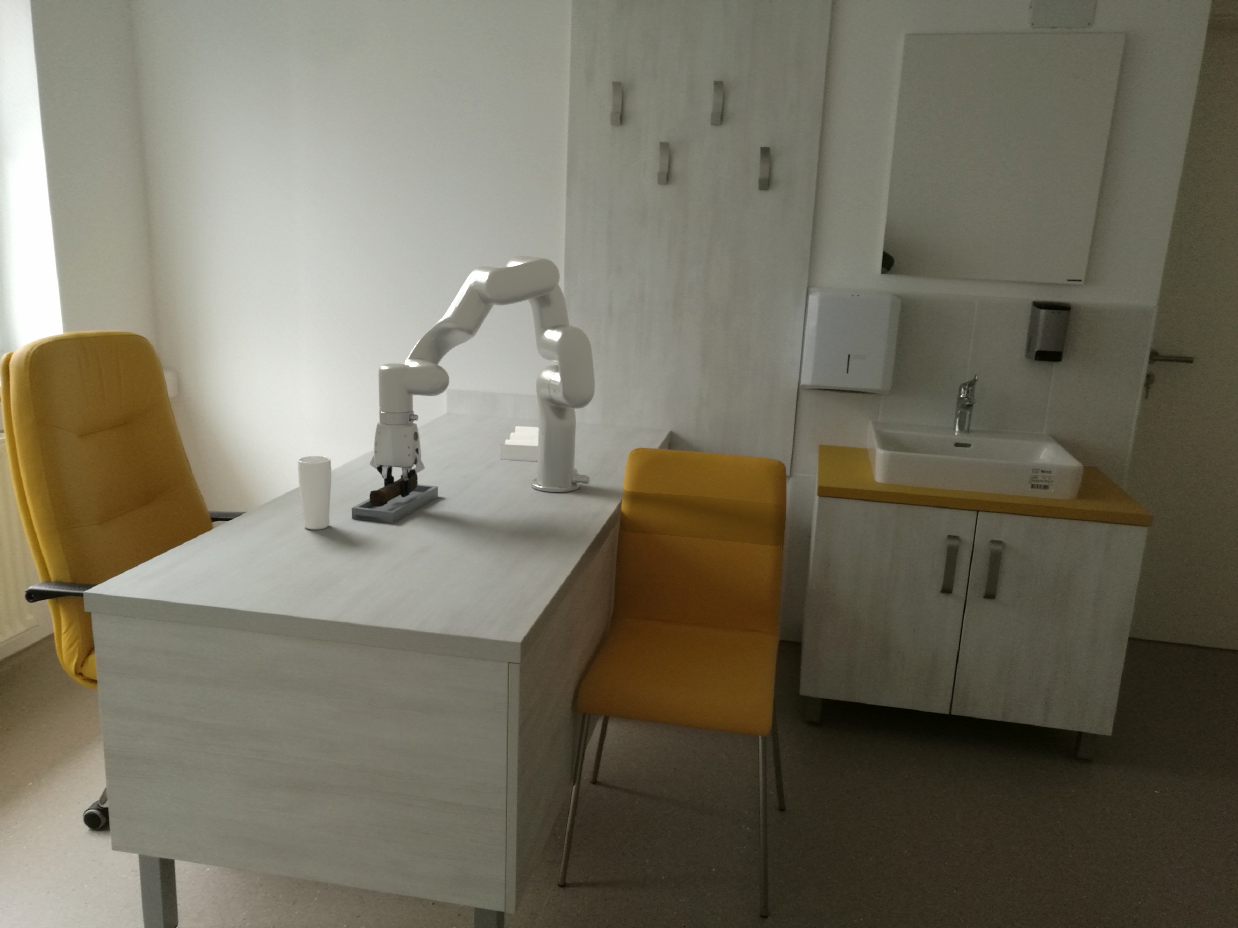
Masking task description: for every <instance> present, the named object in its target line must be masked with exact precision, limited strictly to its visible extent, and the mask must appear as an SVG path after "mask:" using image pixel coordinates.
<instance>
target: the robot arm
mask: <svg viewBox="0 0 1238 928" xmlns="http://www.w3.org/2000/svg"><path fill="white" fill-rule="evenodd" d="M560 279H561V278H560V270H559V268H558V266H557V265H556V264H555V262H554V261H552V260H550V259H547V258H545V257H537V256H529V255H525V256H524V255H518V256H515V257H512V258H511V259H510V260H508V261H507V263H506V265H505V266H504V267H494V266H493V267H492V266H479V267H476V268H475V269H473V270H471V271H470V273H469V275H468V276H467V278H466V279H465V281H464V282H463V284H462V285H461V287H460V289H459V290H458V292H457V293H456V295H455V297H454V298H453V300H452V302H451V304H450V305H449V307H448V308H447V309H446V311H445V313H444V315H443V316H442V317H441V318H440V319H439V320H438V321H436V322H435V324H434V325H432V326H431V328H429V329H428V330H427V331H426V332H424V334H423V335H422V336H421V337H420V338H419V339H418V341H417V342H416V343H415V345H414V346H413V348H412V349H411V351H410V353H409V355H408V356H407V357H406V360H404V361H405V362H404V363H397V362H396V363H394V362H393V363H385V364H382V365H380V366H379V368H378V407H379V412H378V413H379V414H378V415H379V422H377V423H376V427H375V433H374V441H373V442H374V445H373V456H372V459H371V460H370V462H369V466H371V467H372V468H374V469H375V470H377V472H378V473H379V474H380V475H381V478H382V479H383V487H384V486H387V485H389V484H391V483H393V482H395V477H394V475H393V468H401V472H402V473H401V475H403V480H402V481H401V497H406V496H408V495H409V494H410V492H411V478H412V477H413V476H414V475H415V474H416V473H417V474H418V473H420V472H422V471H424V470H425V469H426V468H425V467H426V466H425V465H424V462H423V460H422V448H421V447H422V446H421V439H420V438H421V437H420V434H419V433H420V432H419V428H418V425H417V423H414V422H415V421H416V422H417V421H418V420H419V414H415V411H414V396H422V397H437V396H440V395H441V394H443V393H444V392H446V390H447V389H448V387H449V385H450V376H449V373H448V372H447V370H446V369H445V368H443V367H442V366H441V365H439V364H440V362H441V361H442V359H443V358H444V357H445V356H446V355H447V354H448V353H449V352H450V351H451V350H452V349H454V348H455V347H458V346H459V345H462V344H464V343H466V342H468V341H471V339H473V338H474V337H475V336H476V335H477V333H478V332H479V330H480V329H481V326H482V325H483V323H484V322H485V319H486V318H487V317H488V315H489V313H491V310H492V309H493V307H494V305H496V306H507V305H512V304H517V303H521V302H524V301H525V302H526V301H528V302H529V304H530V307H531V311H532V316H533V324H534V325H533V326H534V334H535V342H536V348H537V352H538V354H539V355H540V356H541V357H542V358H543V359H545V360H548V361H549V362H554V363H557V364H551V365H548V366H546V367H544V368H543V369H542V370H541V371H540V372H539V373H538V376H537V377H536V378H537V379H536V382H535V388H536V389H535V391H536V398H537V406H538V427H539V432H538V461H537V477H535V478H533V479H531V482H530V485H531V487H532V489H533V488H534V489H535V490H538V491H541V492H549V493H567V492H572V491H577V490H578V489H579V488H580V485H581V484H585V485H589V484H590V479H591V478H590V476H588V475H587V474H580V473H578V468H575V461H576V460H575V459H576V458H575V455H576V429H577V418H576V411H575V409H582V408H585V407H587V406H588V405H589V404H590V403H591V402H592V400H593V399H594V396H595V391H596V380H595V370H594V369H595V368H594V360H593V359H594V357H593V350H592V345H591V344H592V343H591V341H590V339H589V337H588V335H587V333H585V331H584V330H582V329H581V328H579V327H576V326H573V325H570V322H569V321H570V320H569V317H568V309H567V303H566V298H565V296H564V293H563V290H562V289H561V287H560V285H559V282H560ZM414 466H415V467H414Z"/></svg>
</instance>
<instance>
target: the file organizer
mask: <svg viewBox="0 0 1238 928" xmlns="http://www.w3.org/2000/svg"><path fill="white" fill-rule="evenodd" d="M538 432H539V426H524V425H523V426H519V425H515V429H514V432H510V435H509V439H508V438H507V439H505V441H504V443H503V444H499V445H500V446H499V447H500V450H499V451H500V454H499V459H500V460H504V461H505V460H507V461H520V462H521V461H525V462H538Z"/></svg>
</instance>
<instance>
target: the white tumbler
mask: <svg viewBox="0 0 1238 928" xmlns="http://www.w3.org/2000/svg"><path fill="white" fill-rule="evenodd" d="M297 477H298V485H299V494H300V500H301V501H300V502H301V510H302V516H303V517H302V518H303V520H302V521H303V522H302V523H303V526H304V528H305V529H308V530H314V531H315V530H324V529H326V528H328V527H329V526H330V510H331V509H330V508H331V505H330V504H331V492H332V491H331V490H332V461H331V458H330V457H328V456H322V455H311V456H304V457H300V458H298V460H297Z"/></svg>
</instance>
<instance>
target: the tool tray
mask: <svg viewBox="0 0 1238 928" xmlns="http://www.w3.org/2000/svg"><path fill="white" fill-rule="evenodd" d="M437 497H439V486H437V485H436V486H435V485H428V484H419V483H418V485H417V487H416V488H415V490H414V491H412V492H411V493H410V494H409V495H408V496H406V497H401V495H399V496H397V497H395V498H393V499H391V500H390V501H388V502H387V504H385V505H384V506H381V507H376V506H372V504H371V503H370V498H367V499H365V500H364V501H362V502H359V504H357V505H354V506H352V507H351V519H352V518H353V520H361V521H369V522H377V523H387V524H394V523H397V521H399V520H401V519H403V518H405V517H406V516H408V515H409V514H411V513H413V512H415V511H416V510H418V509H419V508H421V507H423V506H424V505H426V504H428V503H429V502H431V501H432V500H433V501H434V499H437Z"/></svg>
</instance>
